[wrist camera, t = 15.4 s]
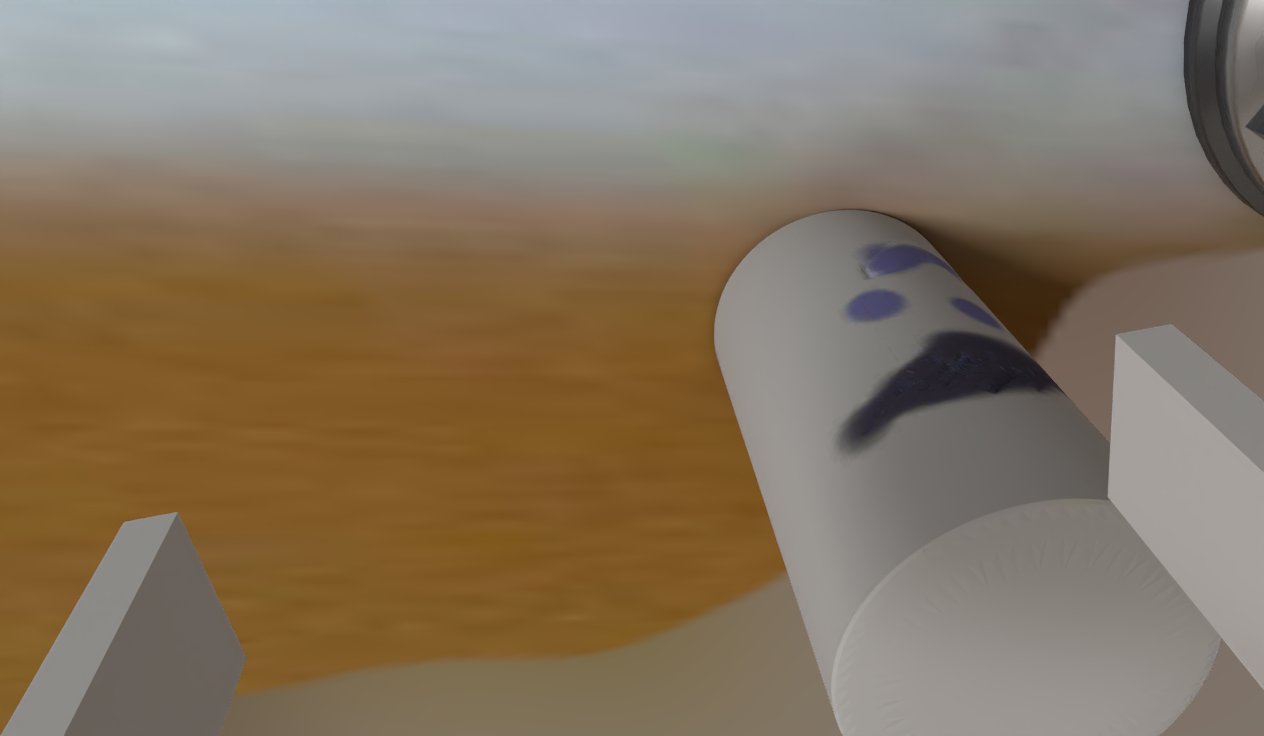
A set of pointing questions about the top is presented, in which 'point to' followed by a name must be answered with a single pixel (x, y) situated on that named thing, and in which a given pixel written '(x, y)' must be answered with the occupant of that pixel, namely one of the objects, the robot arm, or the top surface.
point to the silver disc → (1242, 83)
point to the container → (942, 501)
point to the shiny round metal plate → (1211, 100)
